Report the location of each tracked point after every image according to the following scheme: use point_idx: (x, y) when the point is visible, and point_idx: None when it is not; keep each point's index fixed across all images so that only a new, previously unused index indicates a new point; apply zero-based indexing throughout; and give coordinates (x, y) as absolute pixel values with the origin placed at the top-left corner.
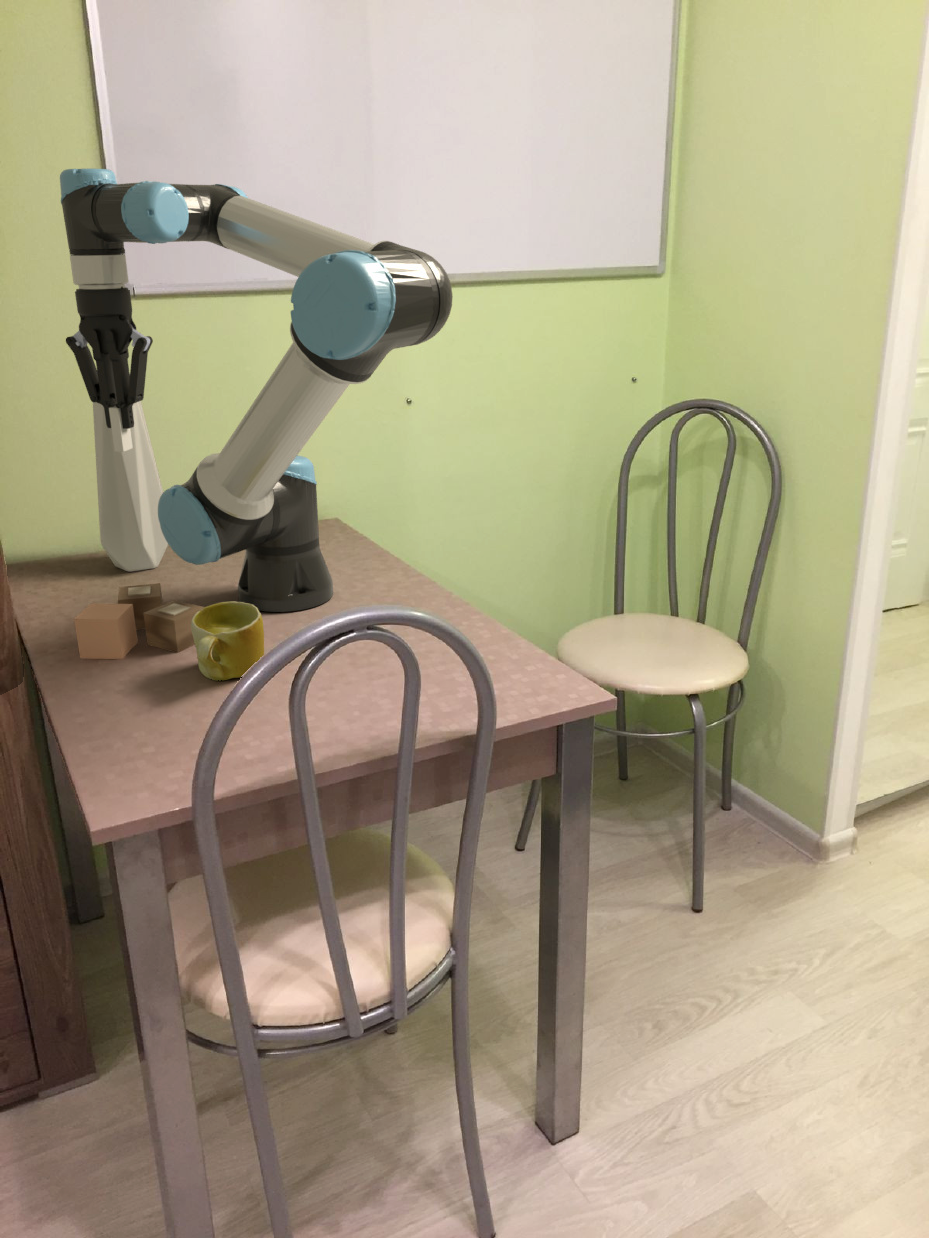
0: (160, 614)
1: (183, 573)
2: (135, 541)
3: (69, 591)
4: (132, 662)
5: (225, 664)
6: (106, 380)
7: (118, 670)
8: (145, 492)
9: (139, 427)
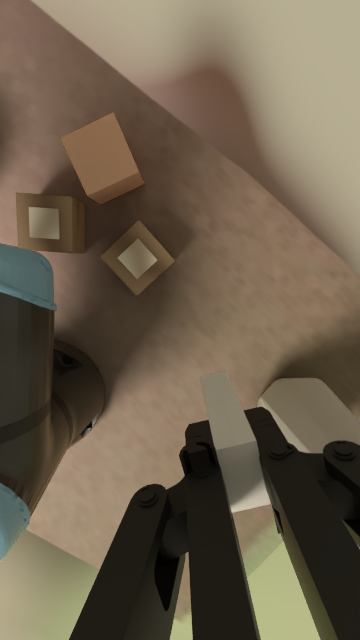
0: (47, 201)
1: None
2: (273, 397)
3: (298, 297)
4: (60, 152)
5: None
6: (304, 561)
7: (56, 126)
8: None
9: None
